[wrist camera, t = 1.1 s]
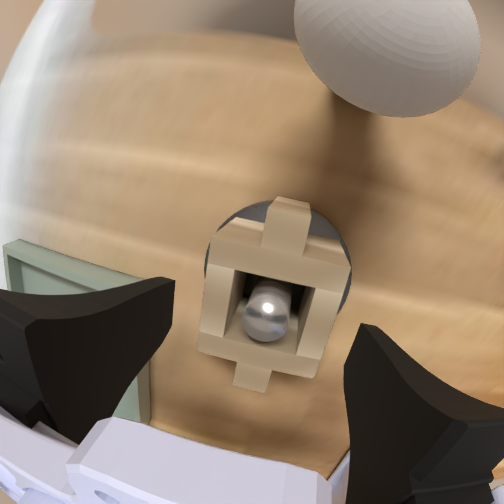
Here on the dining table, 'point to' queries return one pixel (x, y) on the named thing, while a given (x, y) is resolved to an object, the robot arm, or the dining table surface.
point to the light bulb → (391, 51)
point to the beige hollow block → (277, 267)
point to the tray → (73, 282)
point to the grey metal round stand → (276, 282)
